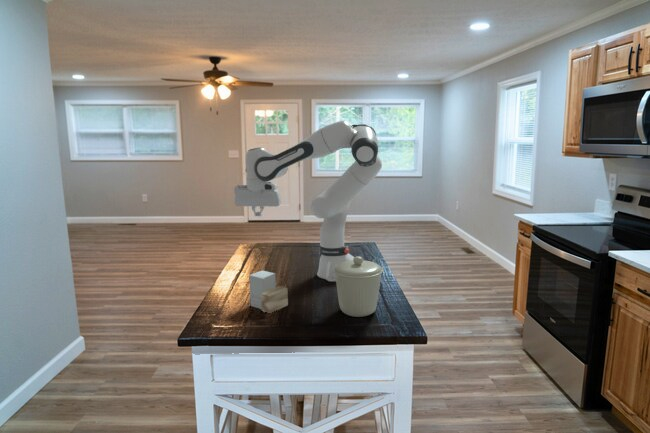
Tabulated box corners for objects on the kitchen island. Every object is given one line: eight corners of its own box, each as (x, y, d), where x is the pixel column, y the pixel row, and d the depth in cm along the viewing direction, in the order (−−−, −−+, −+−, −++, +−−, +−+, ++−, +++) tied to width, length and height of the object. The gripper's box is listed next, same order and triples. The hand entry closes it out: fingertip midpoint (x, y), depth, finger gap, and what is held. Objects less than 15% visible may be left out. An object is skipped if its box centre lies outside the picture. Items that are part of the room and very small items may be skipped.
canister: (365, 298, 170) (365, 247, 166) (392, 315, 154) (393, 259, 150) (325, 307, 162) (324, 254, 158) (349, 326, 146) (349, 267, 142)
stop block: (261, 311, 159) (261, 293, 158) (280, 302, 167) (279, 285, 166) (269, 313, 157) (268, 296, 156) (287, 305, 165) (287, 287, 163)
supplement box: (277, 304, 166) (276, 273, 163) (263, 310, 160) (262, 278, 158) (263, 300, 170) (262, 269, 168) (250, 306, 164) (248, 274, 162)
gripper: (231, 186, 185) (233, 217, 188) (277, 186, 183) (278, 217, 185) (236, 184, 191) (238, 214, 194) (281, 184, 189) (282, 215, 191)
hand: (258, 216), depth 190 cm, fingers closed
